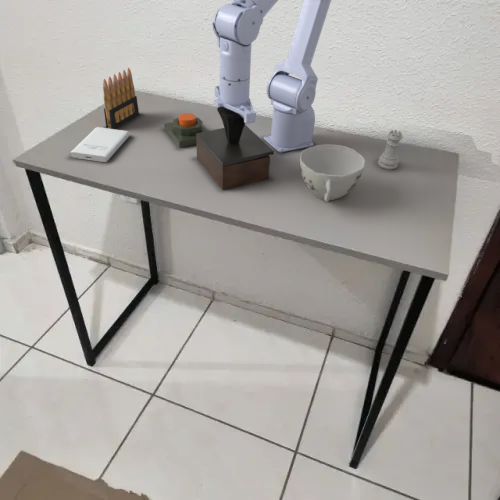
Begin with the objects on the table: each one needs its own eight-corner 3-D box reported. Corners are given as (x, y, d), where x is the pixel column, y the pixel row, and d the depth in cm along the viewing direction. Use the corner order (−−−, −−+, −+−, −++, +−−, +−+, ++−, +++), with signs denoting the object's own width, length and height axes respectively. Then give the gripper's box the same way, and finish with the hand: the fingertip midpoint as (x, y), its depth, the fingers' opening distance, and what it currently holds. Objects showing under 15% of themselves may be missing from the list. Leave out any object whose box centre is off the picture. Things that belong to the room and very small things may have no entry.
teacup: (299, 173, 101) (304, 139, 96) (358, 181, 99) (366, 147, 94) (290, 212, 90) (294, 175, 84) (356, 222, 88) (364, 185, 83)
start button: (176, 121, 110) (176, 114, 109) (192, 118, 112) (192, 111, 111) (182, 128, 108) (182, 121, 107) (198, 125, 109) (198, 118, 108)
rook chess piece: (399, 163, 106) (408, 130, 101) (395, 172, 103) (404, 139, 98) (379, 158, 108) (387, 126, 102) (375, 167, 104) (383, 134, 99)
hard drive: (129, 137, 110) (106, 162, 100) (96, 133, 111) (71, 157, 101) (128, 131, 109) (105, 156, 99) (95, 126, 110) (69, 150, 100)
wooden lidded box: (239, 150, 108) (240, 129, 104) (268, 179, 98) (270, 156, 95) (196, 159, 104) (196, 137, 100) (222, 190, 94) (222, 166, 91)
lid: (243, 126, 104) (244, 123, 104) (273, 154, 95) (274, 150, 95) (196, 136, 100) (196, 133, 100) (222, 166, 91) (222, 163, 90)
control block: (165, 130, 114) (163, 116, 112) (195, 124, 117) (195, 111, 115) (179, 148, 107) (178, 134, 105) (211, 142, 110) (211, 128, 108)
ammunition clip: (133, 113, 120) (127, 65, 112) (139, 115, 120) (134, 67, 112) (106, 129, 113) (98, 79, 105) (112, 131, 112) (104, 81, 104)
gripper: (200, 66, 92) (201, 130, 100) (232, 92, 82) (230, 161, 91) (232, 62, 94) (231, 125, 103) (267, 87, 85) (262, 155, 93)
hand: (233, 142), depth 97 cm, fingers closed, pressing on lid
